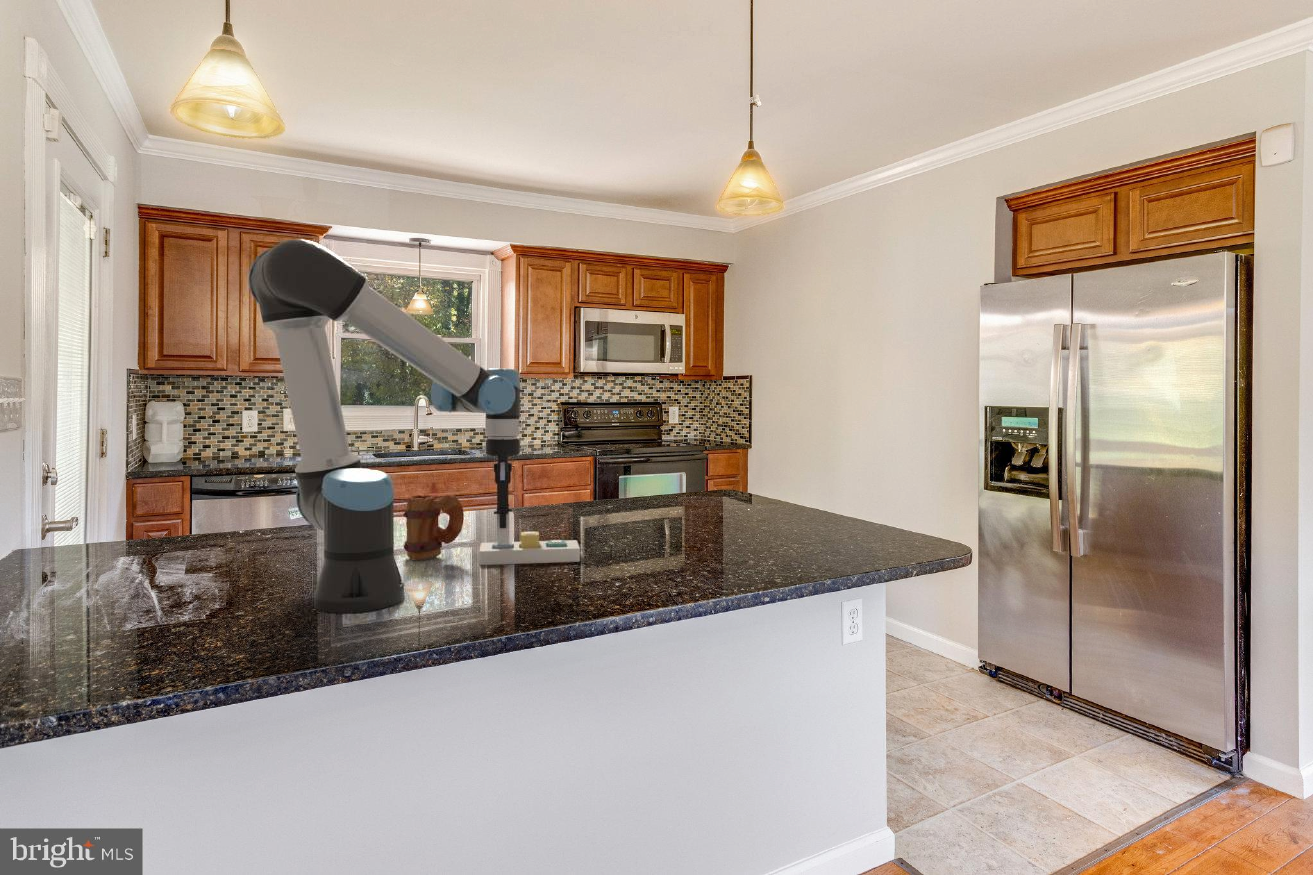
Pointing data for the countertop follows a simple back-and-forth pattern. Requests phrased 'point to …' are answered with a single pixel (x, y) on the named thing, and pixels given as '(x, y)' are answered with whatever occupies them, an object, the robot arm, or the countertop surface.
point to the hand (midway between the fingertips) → (503, 541)
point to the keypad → (529, 554)
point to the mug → (431, 524)
